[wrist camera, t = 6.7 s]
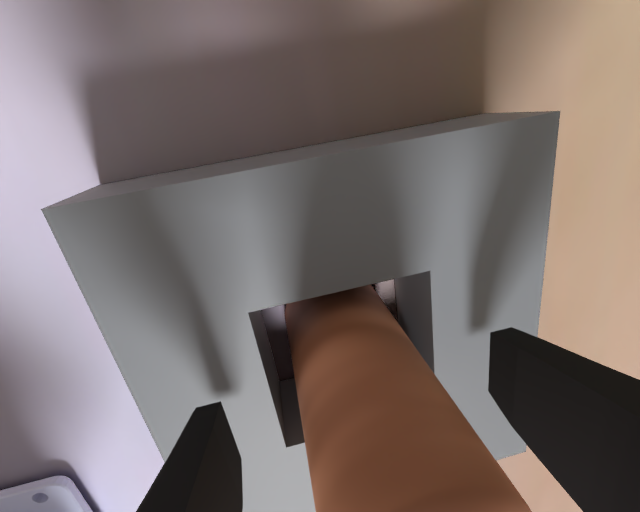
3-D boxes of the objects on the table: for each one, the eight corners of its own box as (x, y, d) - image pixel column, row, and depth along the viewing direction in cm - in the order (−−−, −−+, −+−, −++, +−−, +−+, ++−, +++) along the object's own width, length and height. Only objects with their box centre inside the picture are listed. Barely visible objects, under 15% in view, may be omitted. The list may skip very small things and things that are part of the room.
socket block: (214, 466, 15) (206, 546, 12) (99, 184, 10) (41, 209, 7) (478, 394, 16) (525, 451, 13) (484, 113, 11) (559, 111, 8)
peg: (296, 360, 13) (347, 651, 6) (274, 282, 12) (307, 533, 5) (382, 337, 14) (529, 586, 6) (370, 257, 12) (540, 458, 5)
